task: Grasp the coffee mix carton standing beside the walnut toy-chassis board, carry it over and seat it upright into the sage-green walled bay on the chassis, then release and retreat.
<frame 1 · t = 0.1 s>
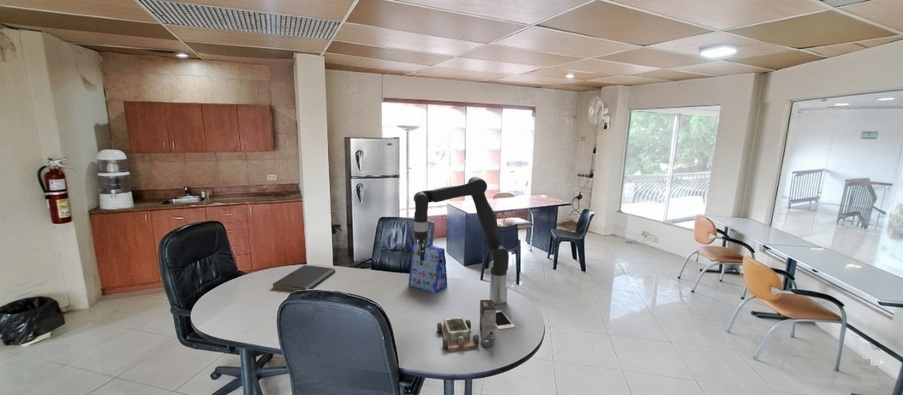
hand: (421, 258, 200), 29 cm above the table, fingers open, 8 cm apart
lunch bag: (427, 286, 235), on the table
cell phone: (499, 320, 194), on the table
loose wheel: (486, 344, 171), on the table
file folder: (305, 281, 241), on the table
coffee box: (486, 334, 180), on the table
chassis: (457, 337, 177), on the table
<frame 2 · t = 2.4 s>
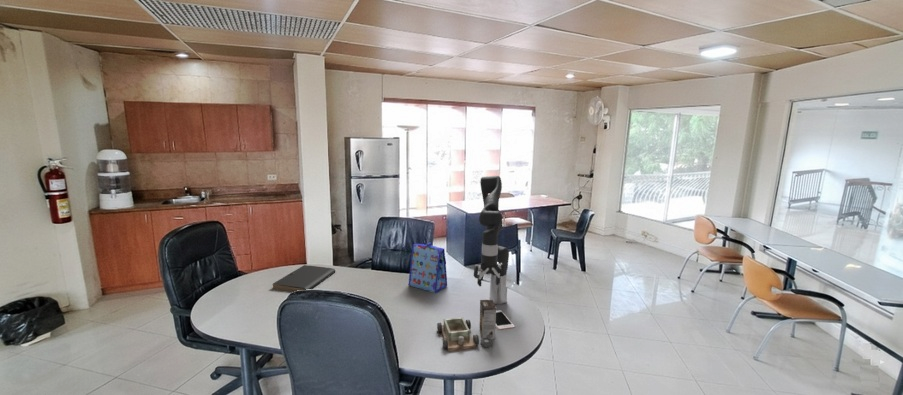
hand: (488, 285, 176), 26 cm above the table, fingers open, 8 cm apart
nothing on the table moved.
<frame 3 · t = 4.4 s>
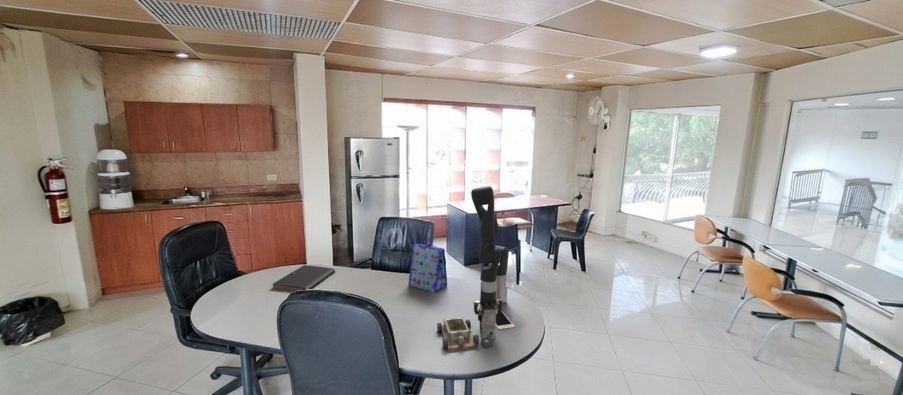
hand: (487, 320, 179), 7 cm above the table, fingers closed on coffee box, 7 cm apart
coffee box: (486, 334, 180), on the table, touching gripper
everything else where it was.
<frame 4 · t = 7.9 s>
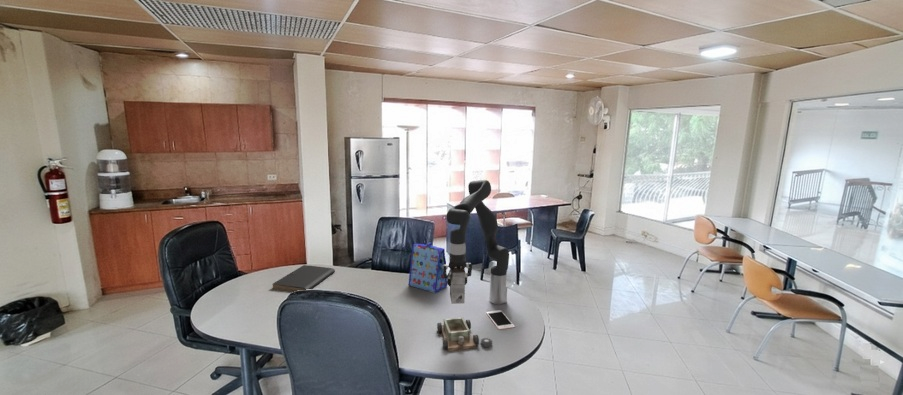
hand: (457, 284, 174), 26 cm above the table, fingers closed on coffee box, 7 cm apart
coffee box: (456, 299, 176), point 19 cm above the table, touching gripper
everything else where it was.
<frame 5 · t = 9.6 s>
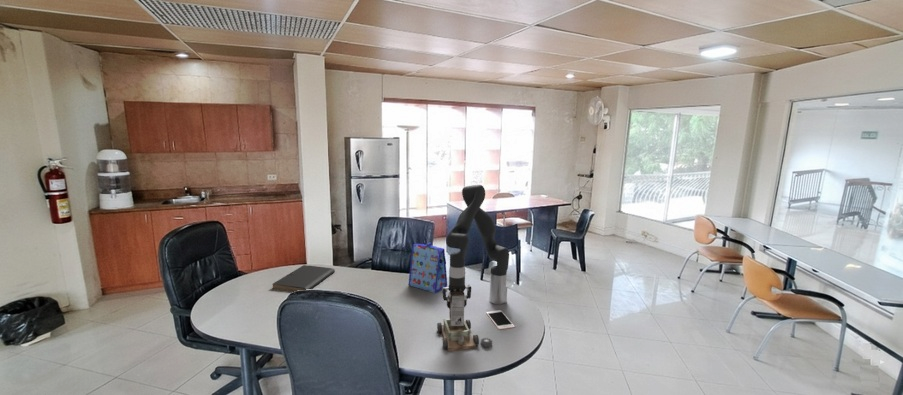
hand: (456, 307, 176), 15 cm above the table, fingers closed on coffee box, 7 cm apart
coffee box: (456, 321, 178), point 7 cm above the table, touching gripper
everything else where it was.
when the fingers open (10 cm above the table, at t = 11.2 s): coffee box drops 1 cm, resting on chassis.
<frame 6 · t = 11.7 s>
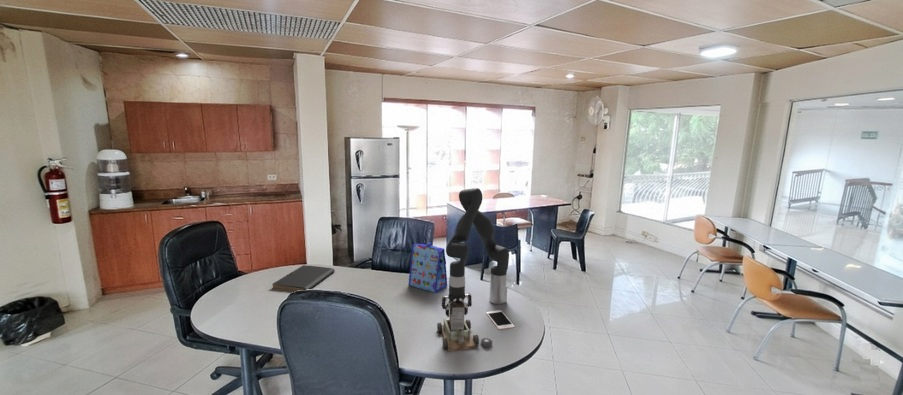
hand: (456, 315, 177), 11 cm above the table, fingers open, 8 cm apart
coffee box: (456, 332, 179), point 1 cm above the table, touching chassis
everything else where it was.
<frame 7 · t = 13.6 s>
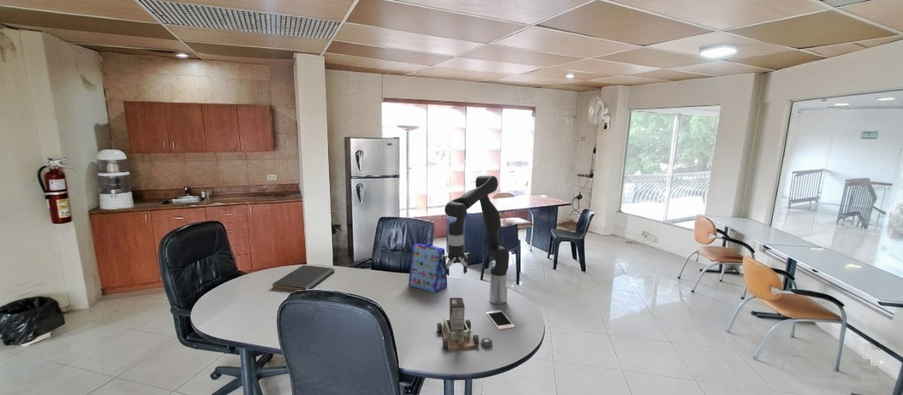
hand: (456, 274, 182), 28 cm above the table, fingers open, 8 cm apart
nothing on the table moved.
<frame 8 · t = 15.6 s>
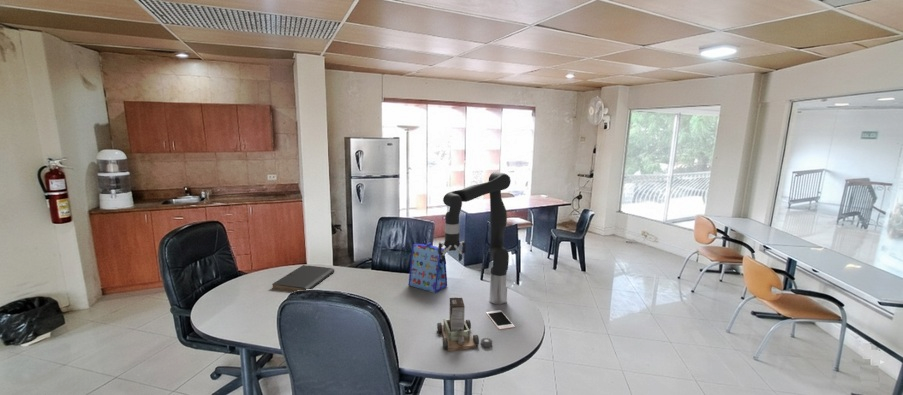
hand: (451, 261, 194), 30 cm above the table, fingers open, 8 cm apart
nothing on the table moved.
at the end: coffee box inside the target area on the chassis (0.1 cm from its centre), point 1.3 cm above the chassis's base; coffee box tilted 0°; the gripper is holding nothing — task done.
